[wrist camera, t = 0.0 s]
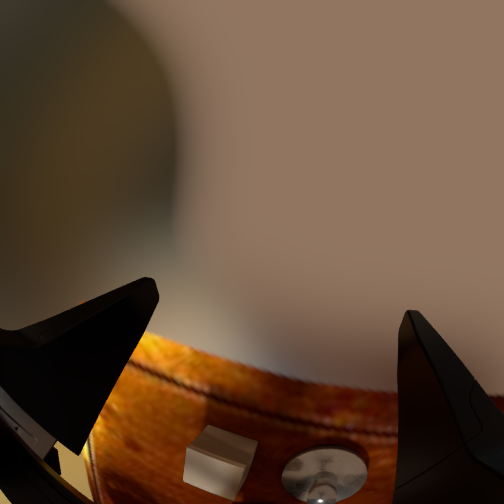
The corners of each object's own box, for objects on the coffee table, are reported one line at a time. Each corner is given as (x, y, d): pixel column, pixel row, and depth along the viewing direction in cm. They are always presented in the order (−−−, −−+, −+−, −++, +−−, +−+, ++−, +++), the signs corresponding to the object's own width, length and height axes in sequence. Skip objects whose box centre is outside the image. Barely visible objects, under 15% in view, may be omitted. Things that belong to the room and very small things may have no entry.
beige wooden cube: (248, 473, 23) (233, 500, 18) (202, 457, 25) (183, 480, 20) (258, 441, 23) (244, 468, 18) (208, 424, 25) (186, 447, 20)
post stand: (373, 486, 19) (375, 511, 15) (297, 503, 21) (290, 528, 17) (356, 434, 21) (358, 460, 16) (271, 455, 23) (260, 480, 18)
